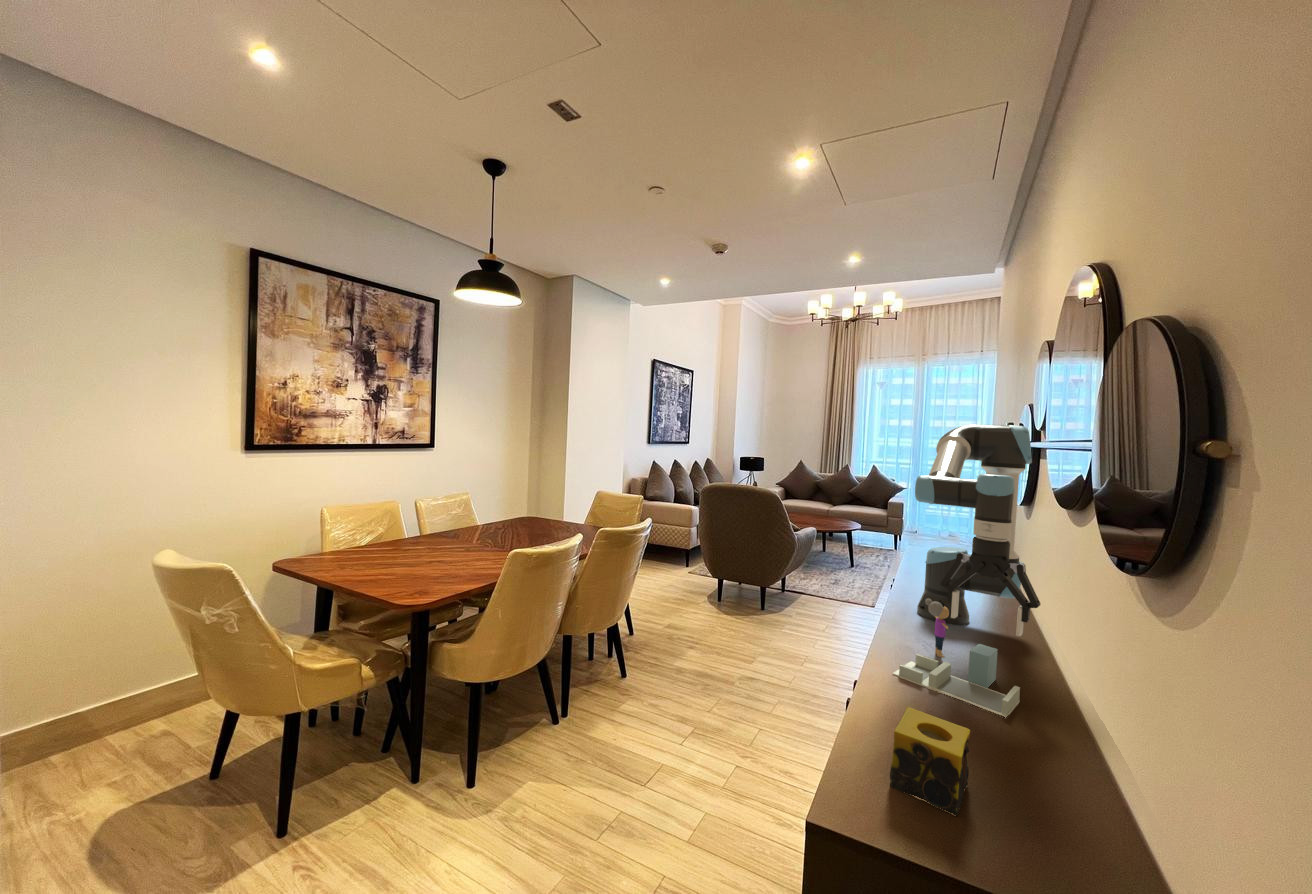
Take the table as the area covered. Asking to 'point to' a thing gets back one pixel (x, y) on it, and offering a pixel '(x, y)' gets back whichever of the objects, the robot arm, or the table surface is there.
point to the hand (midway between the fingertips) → (985, 625)
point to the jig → (957, 685)
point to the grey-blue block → (982, 665)
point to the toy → (938, 623)
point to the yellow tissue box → (930, 759)
